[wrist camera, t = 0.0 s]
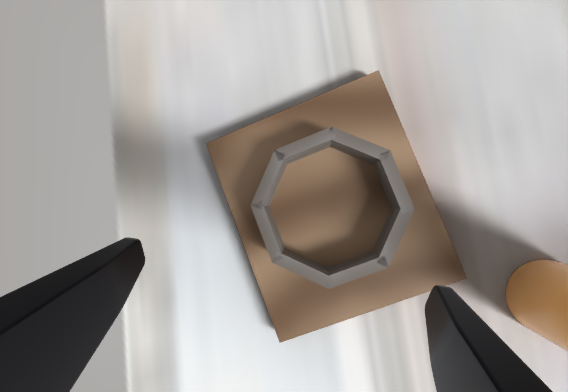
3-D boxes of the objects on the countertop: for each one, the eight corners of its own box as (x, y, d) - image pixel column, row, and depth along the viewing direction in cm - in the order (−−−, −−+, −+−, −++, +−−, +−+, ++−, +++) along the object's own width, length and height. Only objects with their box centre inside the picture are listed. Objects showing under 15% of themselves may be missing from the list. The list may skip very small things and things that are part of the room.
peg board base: (457, 273, 23) (486, 287, 19) (282, 334, 24) (274, 359, 20) (374, 78, 24) (385, 53, 20) (212, 147, 25) (192, 136, 21)
